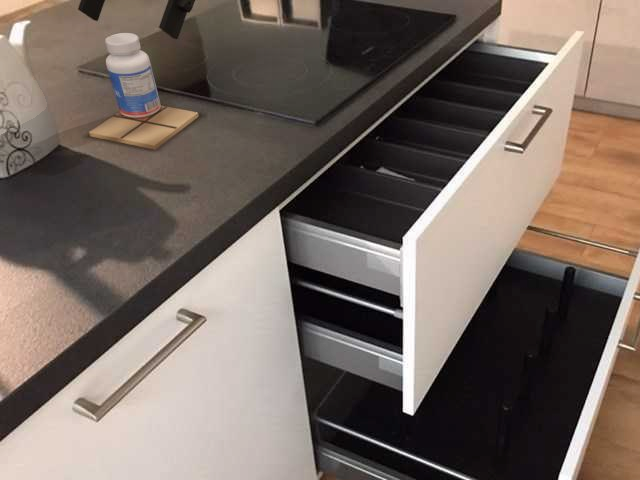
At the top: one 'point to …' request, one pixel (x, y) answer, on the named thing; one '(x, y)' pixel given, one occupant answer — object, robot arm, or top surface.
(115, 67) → the pill bottle
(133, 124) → the grid board
